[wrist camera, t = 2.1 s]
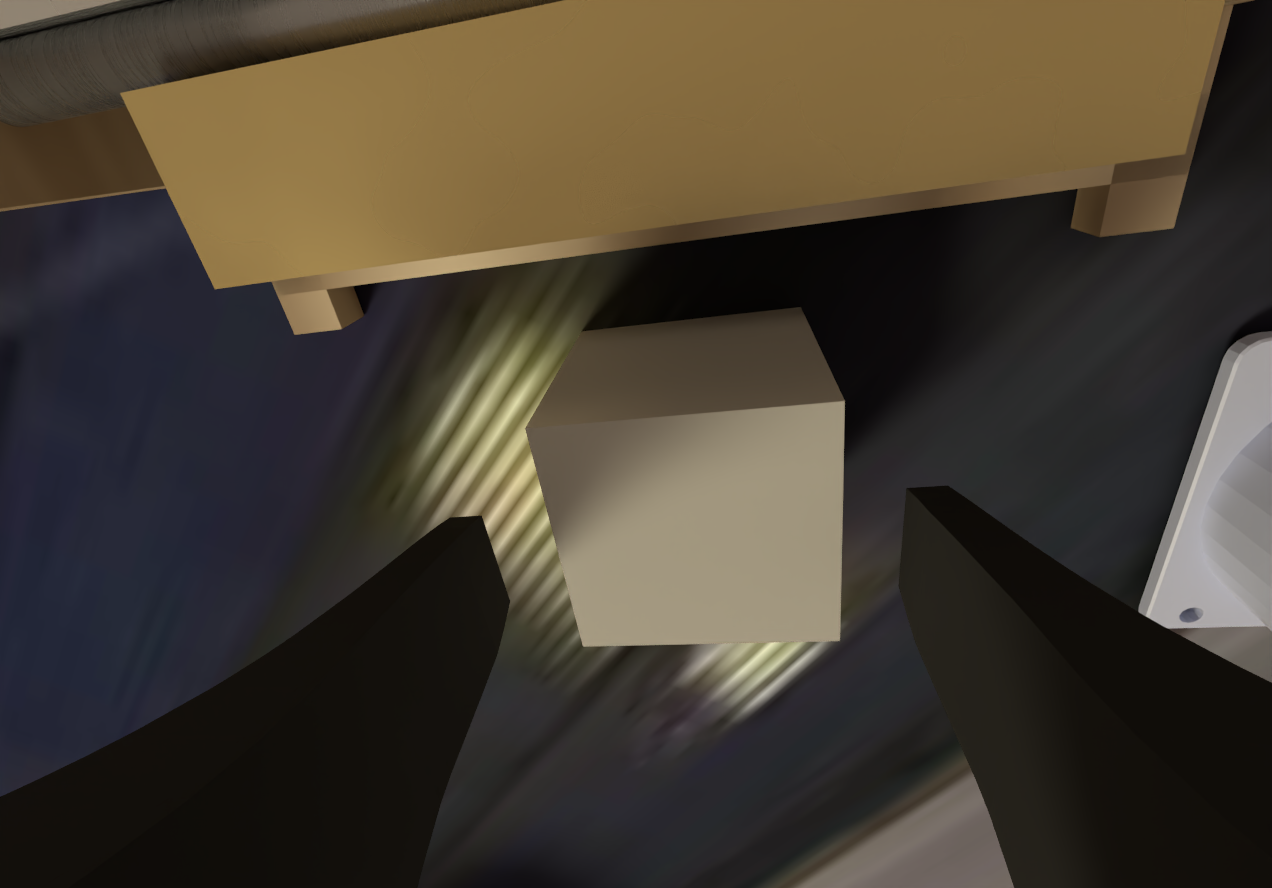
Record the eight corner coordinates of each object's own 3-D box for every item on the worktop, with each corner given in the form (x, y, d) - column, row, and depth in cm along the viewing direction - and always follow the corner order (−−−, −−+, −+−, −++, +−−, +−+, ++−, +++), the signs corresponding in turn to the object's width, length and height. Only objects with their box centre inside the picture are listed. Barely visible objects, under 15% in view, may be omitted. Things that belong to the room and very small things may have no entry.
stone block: (800, 305, 13) (844, 401, 9) (803, 492, 16) (840, 641, 11) (582, 330, 14) (525, 428, 10) (616, 504, 16) (583, 646, 12)
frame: (1241, -210, 9) (2357, -879, 3) (1138, 219, 12) (1588, 332, 6) (197, 25, 12) (-326, -62, 6) (319, 321, 14) (51, 465, 9)
